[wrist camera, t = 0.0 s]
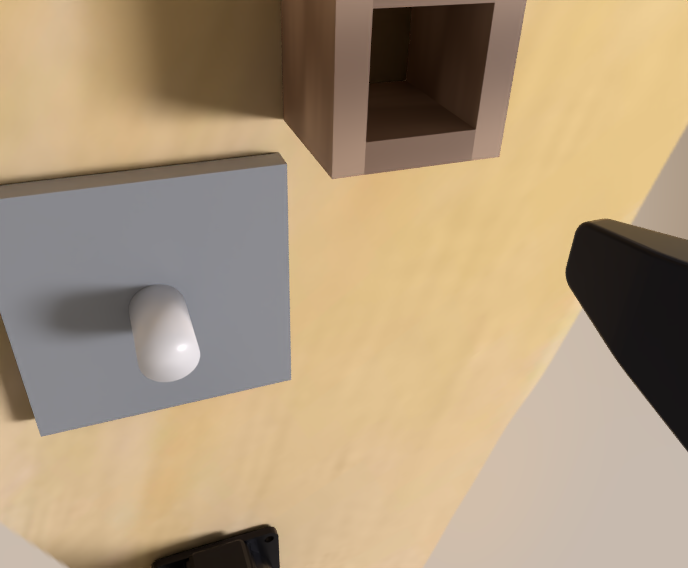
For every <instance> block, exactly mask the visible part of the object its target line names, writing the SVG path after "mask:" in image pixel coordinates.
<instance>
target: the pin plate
mask: <svg viewBox="0 0 688 568" xmlns="http://www.w3.org/2000/svg"><path fill="white" fill-rule="evenodd" d="M0 313H1V316H2V319H3V322H4V325H5V328H6V331H7V334H8V338H9V341H10V344H11V347H12V350H13V353H14V356H15V359H16V362H17V365H18V368H19V371H20V374H21V377H22V380H23V383H24V386H25V389H26V392H27V395H28V399H29V402H30V405H31V408H32V411H33V414H34V417H35V420H36V423H37V426H38V429H39V432H40V435H41V437H42V436H46V435H51V434H55V433H59V432H64V431H68V430H72V429H77V428H81V427H86V426H90V425H94V424H99V423H103V422H108V421H112V420H116V419H121V418H125V417H129V416H134V415H138V414H143V413H147V412H151V411H156V410H160V409H165V408H169V407H173V406H178V405H182V404H186V403H191V402H195V401H200V400H204V399H208V398H213V397H217V396H222V395H226V394H230V393H235V392H239V391H244V390H248V389H252V388H257V387H261V386H265V385H270V384H274V383H279V382H283V381H287V380H291V349H290V298H289V247H288V195H287V163H286V162H285V161H284V159H283V158H282V156H281V155H280V154H279V153H273V154H265V155H256V156H247V157H239V158H230V159H222V160H213V161H205V162H196V163H188V164H179V165H170V166H162V167H153V168H145V169H136V170H128V171H119V172H111V173H102V174H93V175H85V176H76V177H68V178H59V179H51V180H42V181H34V182H25V183H16V184H8V185H0Z"/></svg>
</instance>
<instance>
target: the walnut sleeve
mask: <svg viewBox="0 0 688 568" xmlns="http://www.w3.org/2000/svg"><path fill="white" fill-rule="evenodd" d="M525 6H526V0H281V26H282V72H283V118H284V121H285V122H286V123H287V125H288V126H289V127H290V128H291V129H292V131H293V132H294V133H295V134H296V136H297V137H298V138H299V139H300V140H301V142H302V143H303V144H304V145H305V147H306V148H307V149H308V150H309V151H310V153H311V154H312V155H313V156H314V157H315V159H316V160H317V161H318V162H319V164H320V165H321V166H322V167H323V168H324V170H325V171H326V172H327V173H328V175H329V176H330V177H331V178H332V179H336V178H343V177H351V176H358V175H366V174H374V173H381V172H389V171H396V170H404V169H411V168H419V167H426V166H434V165H441V164H449V163H456V162H464V161H471V160H479V159H486V158H494V157H499V155H500V149H501V144H502V138H503V132H504V126H505V121H506V115H507V109H508V104H509V98H510V92H511V86H512V81H513V75H514V69H515V63H516V58H517V52H518V46H519V41H520V35H521V29H522V23H523V18H524V12H525ZM394 7H412V13H411V25H410V37H409V49H408V61H407V73H406V80H405V81H394V82H382V83H371V84H369V72H370V53H371V33H372V14H373V8H394Z"/></svg>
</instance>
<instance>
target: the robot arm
mask: <svg viewBox="0 0 688 568" xmlns="http://www.w3.org/2000/svg"><path fill="white" fill-rule="evenodd" d="M566 280H567V283H568V285H569V287H570V289H571V290H572V292H573V293H574V295H575V297H576V298H577V300H578V301H579V303H580V304H581V306H582V308H583V309H584V311H585V312H586V314H587V315H588V317H589V318H590V320H591V322H592V323H593V325H594V326H595V328H596V329H597V331H598V332H599V334H600V336H601V337H602V339H603V340H604V342H605V343H606V345H607V347H608V348H609V350H610V351H611V353H612V354H613V356H614V357H615V359H616V360H617V362H618V363H619V364H620V366H621V367H622V368H623V370H624V371H625V372H626V374H627V375H628V376H629V378H630V379H631V380H632V382H633V383H634V384H635V385H636V387H637V388H638V389H639V390H640V391H641V393H642V394H643V395H644V397H645V398H646V399H647V401H648V402H649V403H650V404H651V406H652V407H653V408H654V409H655V411H656V412H657V413H658V415H659V416H660V417H661V418H662V420H663V421H664V422H665V424H666V425H667V426H668V427H669V429H670V430H671V431H672V432H673V434H674V435H675V436H676V438H677V439H678V440H679V441H680V443H681V444H682V445H683V446H684V448H685V449H686V450H687V451H688V240H686V239H682V238H678V237H674V236H671V235H667V234H663V233H660V232H655V231H652V230H648V229H645V228H641V227H637V226H633V225H630V224H626V223H622V222H618V221H615V220H611V219H599V220H593V221H588V222H584V223H582V224H581V225H579V227H578V228H577V230H576V232H575V235H574V239H573V243H572V247H571V251H570V254H569V258H568V262H567V266H566ZM151 568H280V564H279V540H278V534H277V531H276V528H274V527H266V528H263V529H259V530H256V531H252V532H249V533H246V534H242V535H239V536H236V537H232V538H229V539H225V540H222V541H219V542H215V543H212V544H209V545H205V546H202V547H198V548H195V549H192V550H188V551H185V552H182V553H178V554H175V555H171V556H168V557H165V558H161V559H159V560H156V561H155V562H154V563H153V564H152V565H151Z"/></svg>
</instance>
